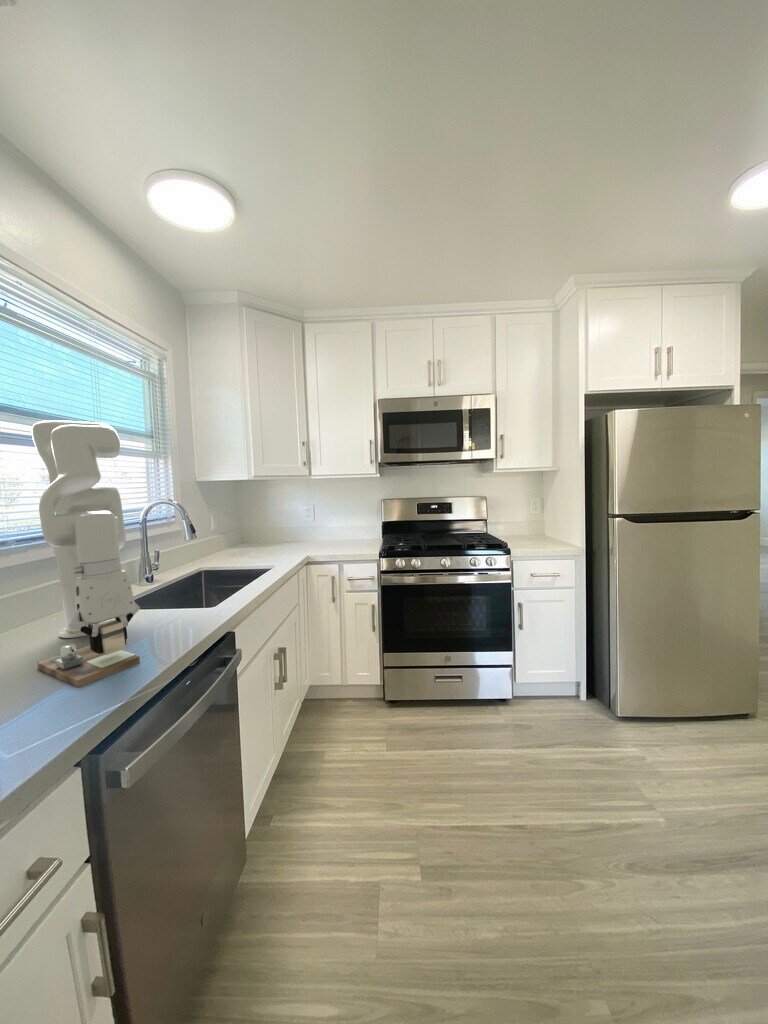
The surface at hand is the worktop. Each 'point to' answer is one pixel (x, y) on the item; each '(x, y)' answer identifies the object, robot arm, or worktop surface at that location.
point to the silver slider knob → (68, 657)
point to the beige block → (112, 636)
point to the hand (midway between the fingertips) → (110, 647)
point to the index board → (84, 668)
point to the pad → (110, 658)
